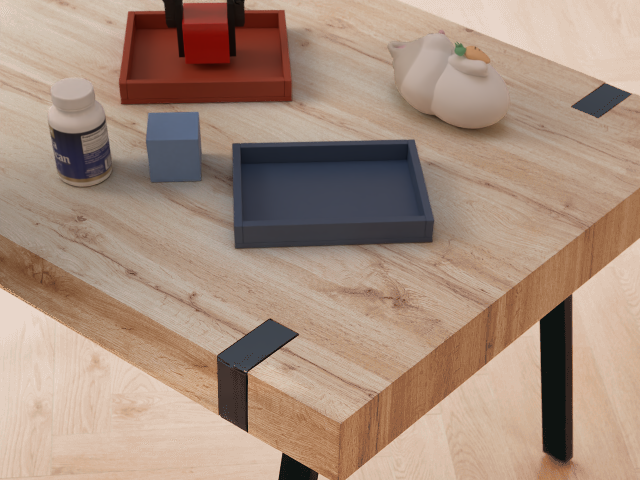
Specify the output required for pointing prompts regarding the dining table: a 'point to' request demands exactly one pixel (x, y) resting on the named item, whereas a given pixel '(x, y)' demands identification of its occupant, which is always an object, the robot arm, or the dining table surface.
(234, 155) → the blue tray
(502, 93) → the animal figurine with carrot
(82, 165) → the pill bottle
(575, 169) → the dining table surface
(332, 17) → the dining table surface
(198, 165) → the blue cube
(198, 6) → the red cube
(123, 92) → the red tray
